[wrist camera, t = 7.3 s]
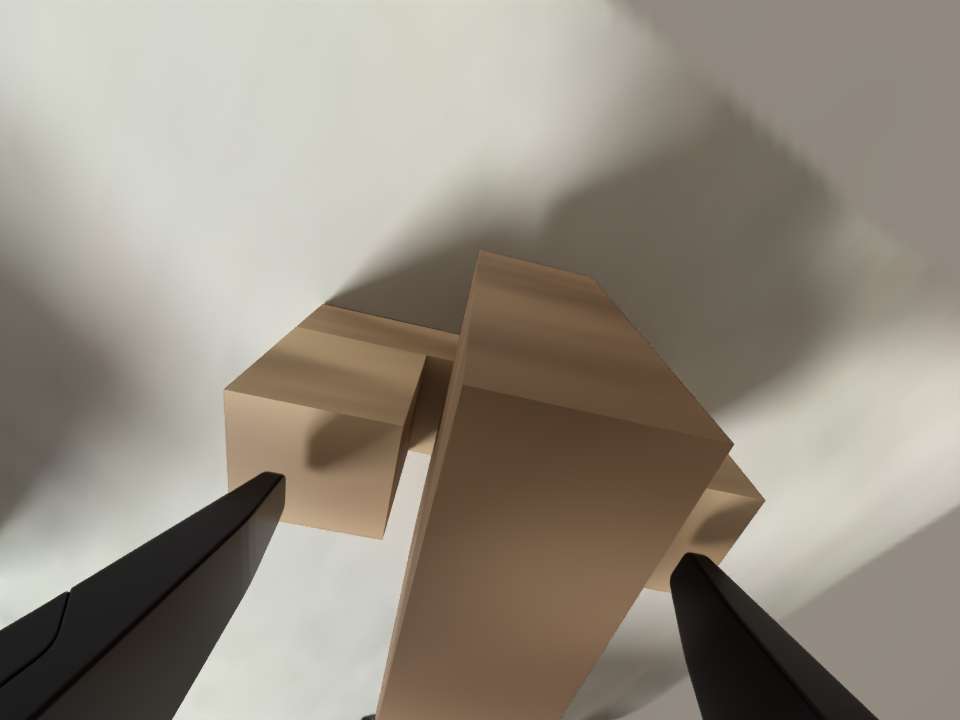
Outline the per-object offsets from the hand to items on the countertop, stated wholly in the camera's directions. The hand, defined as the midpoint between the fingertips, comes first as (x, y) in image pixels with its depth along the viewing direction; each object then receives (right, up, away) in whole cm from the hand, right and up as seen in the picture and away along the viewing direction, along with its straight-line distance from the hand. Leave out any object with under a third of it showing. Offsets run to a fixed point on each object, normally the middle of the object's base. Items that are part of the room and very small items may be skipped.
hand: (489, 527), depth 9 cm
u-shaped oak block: (0, +3, +6) cm, 6 cm away
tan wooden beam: (0, +2, +4) cm, 4 cm away
